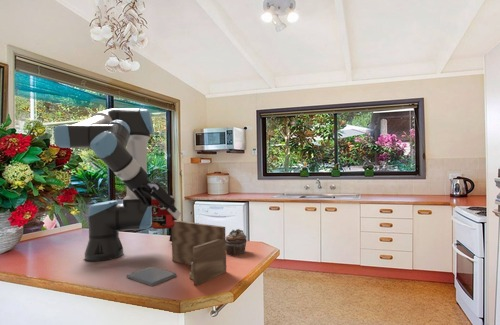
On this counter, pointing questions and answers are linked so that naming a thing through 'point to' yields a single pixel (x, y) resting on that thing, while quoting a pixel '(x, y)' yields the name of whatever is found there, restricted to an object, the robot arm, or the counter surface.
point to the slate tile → (151, 276)
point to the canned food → (161, 215)
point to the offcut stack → (191, 271)
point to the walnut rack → (200, 249)
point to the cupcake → (236, 242)
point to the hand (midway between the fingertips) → (170, 215)
